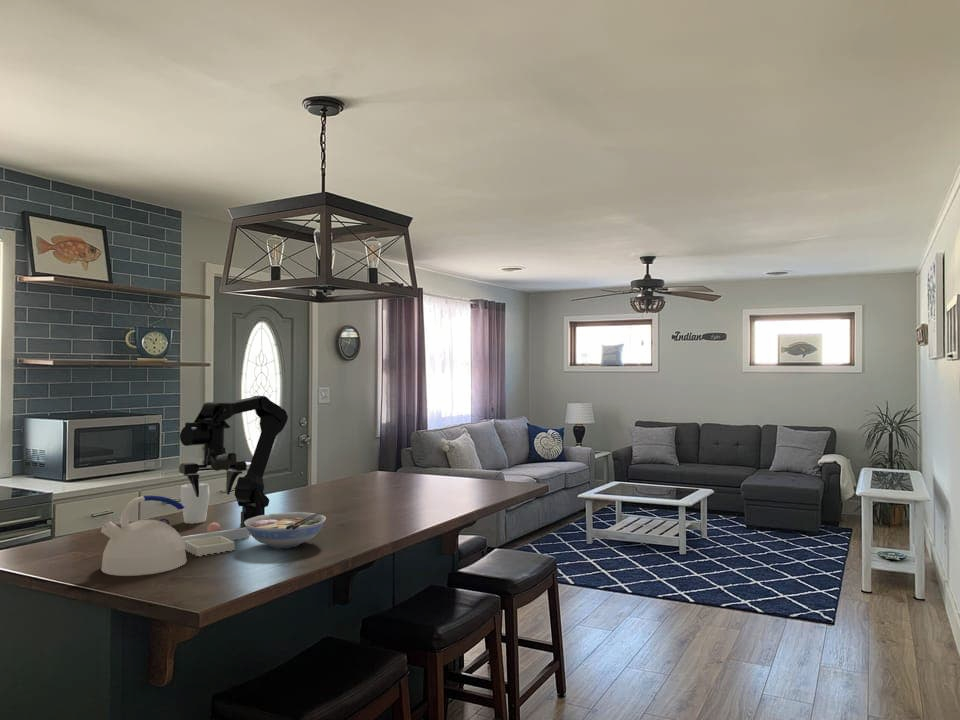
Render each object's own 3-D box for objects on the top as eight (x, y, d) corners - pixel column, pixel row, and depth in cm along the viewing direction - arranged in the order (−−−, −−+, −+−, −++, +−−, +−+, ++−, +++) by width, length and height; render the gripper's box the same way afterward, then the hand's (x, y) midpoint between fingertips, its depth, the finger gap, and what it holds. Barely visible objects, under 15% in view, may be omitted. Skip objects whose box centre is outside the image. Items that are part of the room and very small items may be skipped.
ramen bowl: (267, 534, 229) (266, 507, 229) (339, 537, 226) (339, 509, 226) (226, 555, 205) (226, 525, 205) (306, 558, 201) (306, 527, 201)
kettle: (88, 566, 195) (88, 496, 195) (168, 552, 209) (168, 486, 209) (116, 582, 180) (116, 506, 180) (200, 565, 195) (200, 495, 195)
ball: (217, 533, 231) (217, 520, 231) (222, 536, 228) (222, 522, 228) (204, 535, 228) (204, 522, 228) (209, 538, 225) (209, 524, 225)
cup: (174, 523, 247) (174, 486, 248) (196, 518, 255) (196, 482, 256) (193, 525, 243) (193, 488, 243) (215, 520, 251) (215, 484, 251)
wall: (247, 537, 226) (247, 527, 226) (248, 537, 225) (248, 527, 225) (178, 547, 213) (178, 537, 213) (180, 548, 213) (180, 537, 213)
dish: (220, 543, 218) (220, 535, 218) (234, 550, 210) (234, 541, 210) (183, 549, 211) (183, 541, 211) (196, 556, 203) (196, 547, 203)
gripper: (191, 447, 217) (190, 501, 216) (254, 444, 228) (253, 496, 228) (179, 444, 225) (177, 497, 225) (240, 442, 237) (239, 492, 236)
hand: (212, 495), depth 228 cm, fingers open, 9 cm apart
